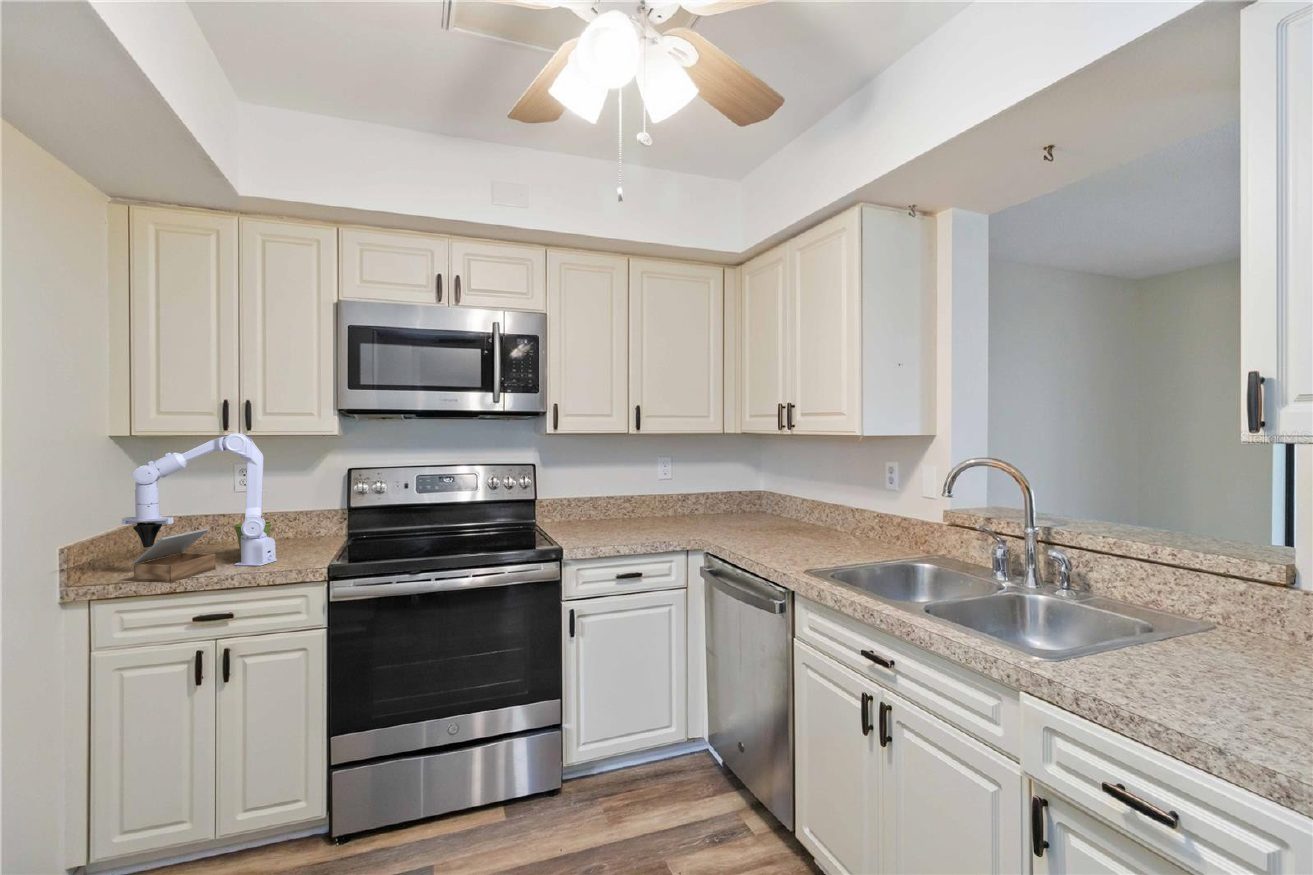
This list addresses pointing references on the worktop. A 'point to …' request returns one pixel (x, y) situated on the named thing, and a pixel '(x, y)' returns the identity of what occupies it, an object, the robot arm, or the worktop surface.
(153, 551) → the lid
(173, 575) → the box base
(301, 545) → the worktop surface
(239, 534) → the plant pot
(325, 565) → the worktop surface
